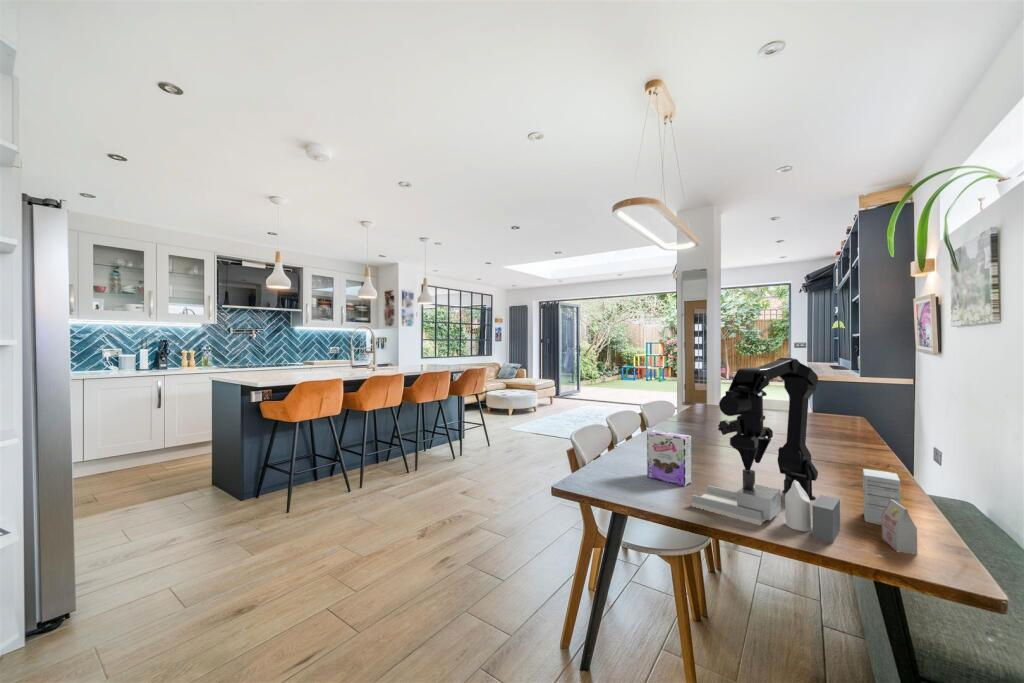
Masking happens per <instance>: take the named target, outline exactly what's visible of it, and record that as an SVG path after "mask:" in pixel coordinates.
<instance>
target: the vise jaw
mask: <svg viewBox="0 0 1024 683" xmlns="http://www.w3.org/2000/svg"><path fill="white" fill-rule="evenodd" d="M736 492H737V506H739V507H743V508H747V509H751V510H755V511H758V512H762V518H763V519H767V521H772V519H773V518H774V517H775V516H776V515H777V514H778V513H779V512H780V511H781V508H782V507H781V501H782V499H781V498H782V497H781V489H778V488H773V487H768V486H763V485H759V484H756V471H755V470H753V469H750V470H749V471H748V470H745V468H744V469H742V487H741V488H739V490H738V491H736Z"/></svg>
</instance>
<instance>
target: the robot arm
mask: <svg viewBox="0 0 1024 683" xmlns="http://www.w3.org/2000/svg"><path fill="white" fill-rule="evenodd" d="M778 377H779V378H780V379H781V380H782V381H783V382H784V383H783V384H784V386H783V387H784V390H785V391H786V392H787V394H788V397H789V400H788V401H789V404H788V417H787V432H786V442H784V445H783V446H782V447H781V446H779V447H778V449H777V450H778V455H777V464H778V468H779V469H778V470H779V473H780V474H782V475H783V474H784V476H785V477H784V478H785V479H784V480H783V490H782V489H781V490H782V493H783V494H785V495H786V493H787V492H788V491H789V489H790V488H791V485H792V482H793V481H794V480H796V481H798V482H799V484H800V485H801V487H802V488H803V489H804V491H805V492H806V493H807V495H808V497H809V499H810V500H817V498H816V496H814V495H813V481H817V479H818V476H819V475H818V474H819V471H818V470H817V468H816V467H815V465H814V463H813V462H812V454H811V452H810V451H809V448H808V447H807V445H806V443H807V442H806V441H807V427H808V413H809V412H808V411H809V410H808V409H809V400H810V398H811V397H812V395H813V394H814V393H815V392H816V391H817V390H816V388H817V385H818V382H819V377H818V375H817V373H816V372H815V371H814V370H813V369H812V368H811V367H810V366H807V365H806V364H804V363H801V362H800V361H799V360H798V359H797V358H794V357H780V358H777V359H775V360H773V361H771V362H769V363H766V364H763V365H761V366H758V367H743V368H738V369H737V371H736V373H735V375H734V377H733V379H732V381H731V384H730V386H729V388H728V389H727V390H726V391H725V395H723V396H722V397H721V398H720V400H719V403H718V407H719V410H720V411H721V413H722V414H723V415H725V416H727V417H733V416H736V419H733V420H727V419H724V420H721V421H719V424H718V425H717V426H718V429H717V430H718V431H720V432H721V434H722V436H725V435H727V434H731V433H735V434H734V435H733V436H731V437H730V438H729V446H731V447H732V448H733V449H735V450H736V451H738V453H739V455H740V458H741V462H742V464H743V468H744V469H745V470H748V471H749V470H752V469H751V468H752V467H753V465H754V464H753V463H754V462H755V463H756V464H760V463H761V461H762V458H763V457H764V455H765V453H766V450H767V448H768V447H769V444H770V443H771V441H772V438H773V437H774V434H773V433H774V431H773V430H772V429H771V427H769V426H768V427H767V426H764V420H766V415H764V402H763V401H764V397H765V396H767V395H768V394H767V393H766V392H765V391H764V390H763V389H765V388H766V387H768V386H769V385H770V381H771V380H773V379H776V378H778Z"/></svg>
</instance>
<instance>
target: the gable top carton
mask: <svg viewBox="0 0 1024 683" xmlns="http://www.w3.org/2000/svg"><path fill="white" fill-rule="evenodd" d="M881 540H882V541H884V542H885V541H886V542H887V543H888V544H889V545H890V546H889V545H888V544H887V543H886V542H885V543H886V544H887V545H888V546H889V547H890V548H892V547H893V548H894V549H895V550H896V551H899V552H898V553H900V552H906V553H905V554H908V553H914V554H913V555H916V554H917V555H918V527H917V526H916V525H915V523H914V521H913V520H912V518H911V516H910V514H909V512H908V509H907V508H905V507H904V506H903V505H900V504H898V503H897V502H895V501H894V500H891V499H889V503H888V505H887V507H886V508H885V510H884V512H883V513H882V525H881ZM893 548H892V549H893ZM894 549H893V550H894ZM895 550H894V551H895ZM896 551H895V552H896Z"/></svg>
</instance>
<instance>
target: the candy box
mask: <svg viewBox="0 0 1024 683" xmlns="http://www.w3.org/2000/svg"><path fill="white" fill-rule="evenodd" d="M646 435H647V436H646V438H647V439H646V442H647V444H646V447H647V448H646V451H647V452H646V457H647V460H646V461H647V462H646V464H647V465H646V466H647V467H646V468H647V469H646V470H647V471H646V472H647V474H646V475H647V478H648V477H649V479H652V478H654V479H653V480H657V479H658V480H657V481H661V480H662V481H661V482H665V481H666V483H669V482H671V483H670V484H673V483H675V484H674V485H677V484H679V485H678V486H681V485H683V486H682V487H686V485H687V484H688V485H690V484H692V436H691V435H688V434H681V433H675V432H674V433H673V432H667V431H661V430H656V429H652V430H650V431H648V432H647V433H646ZM689 483H690V484H689ZM688 485H687V486H688Z"/></svg>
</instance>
